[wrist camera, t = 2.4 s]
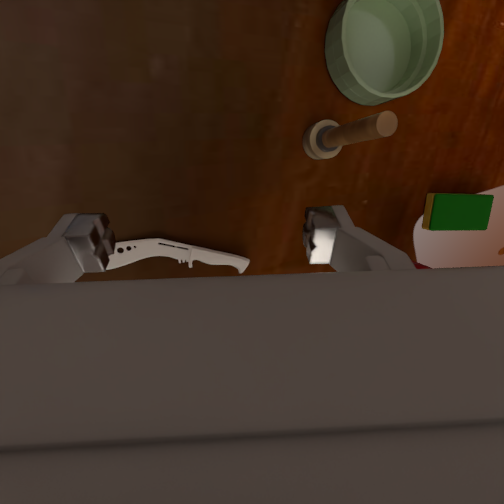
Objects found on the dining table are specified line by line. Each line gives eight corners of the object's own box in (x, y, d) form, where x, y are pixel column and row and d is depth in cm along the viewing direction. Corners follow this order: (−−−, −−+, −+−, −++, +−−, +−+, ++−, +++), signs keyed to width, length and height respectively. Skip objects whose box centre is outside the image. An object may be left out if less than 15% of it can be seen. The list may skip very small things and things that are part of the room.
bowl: (314, -1, 47) (332, -25, 42) (410, -19, 50) (439, -44, 44) (333, 116, 52) (351, 108, 47) (419, 94, 55) (447, 84, 49)
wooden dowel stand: (299, 127, 51) (360, 101, 34) (331, 119, 52) (407, 90, 35) (306, 163, 53) (367, 156, 36) (337, 154, 54) (412, 143, 36)
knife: (55, 266, 47) (61, 218, 46) (59, 263, 49) (66, 216, 47) (239, 300, 54) (251, 259, 53) (238, 296, 56) (249, 256, 54)
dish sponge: (476, 228, 65) (487, 230, 62) (420, 228, 61) (430, 230, 59) (483, 194, 63) (494, 195, 61) (426, 192, 60) (436, 193, 58)
